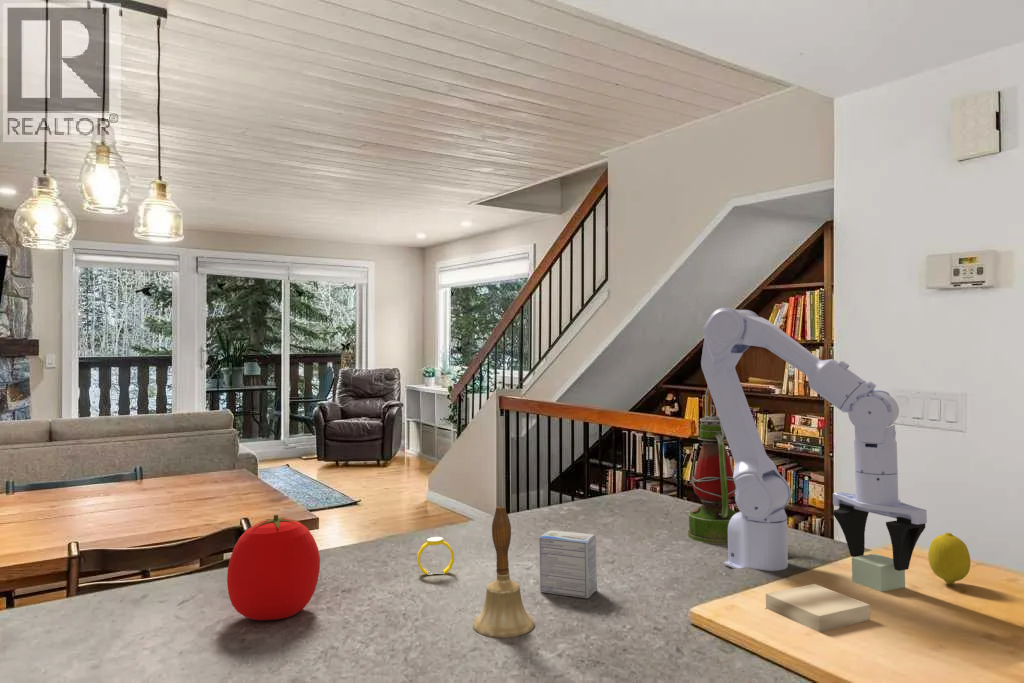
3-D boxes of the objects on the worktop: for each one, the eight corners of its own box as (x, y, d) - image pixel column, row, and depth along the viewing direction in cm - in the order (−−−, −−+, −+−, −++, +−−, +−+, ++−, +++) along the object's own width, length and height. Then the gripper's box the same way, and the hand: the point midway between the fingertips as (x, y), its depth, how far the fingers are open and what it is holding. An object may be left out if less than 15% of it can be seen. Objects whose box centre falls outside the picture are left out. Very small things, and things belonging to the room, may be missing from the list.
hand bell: (513, 643, 87) (512, 516, 88) (460, 629, 92) (459, 509, 92) (545, 621, 94) (544, 503, 95) (495, 610, 99) (493, 497, 99)
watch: (419, 579, 113) (416, 543, 113) (418, 574, 116) (415, 539, 116) (455, 574, 114) (452, 538, 114) (453, 569, 117) (450, 534, 117)
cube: (852, 590, 105) (851, 557, 105) (875, 585, 107) (875, 553, 107) (881, 601, 100) (880, 566, 101) (905, 596, 102) (904, 562, 103)
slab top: (766, 608, 95) (765, 593, 95) (814, 597, 98) (814, 583, 98) (819, 632, 86) (818, 616, 86) (870, 619, 90) (869, 604, 90)
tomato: (231, 638, 90) (230, 528, 90) (223, 609, 100) (223, 511, 100) (329, 619, 96) (328, 517, 96) (312, 595, 106) (311, 502, 106)
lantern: (678, 528, 143) (675, 383, 144) (728, 527, 144) (725, 383, 144) (699, 547, 129) (697, 386, 130) (755, 545, 130) (752, 385, 130)
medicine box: (597, 590, 106) (596, 534, 106) (588, 600, 102) (587, 541, 102) (549, 584, 109) (549, 529, 110) (539, 593, 105) (538, 536, 106)
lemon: (977, 591, 104) (976, 537, 104) (937, 589, 105) (935, 536, 105) (961, 579, 109) (960, 528, 109) (923, 577, 110) (922, 527, 110)
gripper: (940, 476, 99) (943, 572, 99) (854, 463, 112) (856, 547, 112) (905, 480, 96) (908, 579, 96) (822, 466, 110) (824, 552, 109)
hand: (878, 562), depth 104 cm, fingers open, 7 cm apart
